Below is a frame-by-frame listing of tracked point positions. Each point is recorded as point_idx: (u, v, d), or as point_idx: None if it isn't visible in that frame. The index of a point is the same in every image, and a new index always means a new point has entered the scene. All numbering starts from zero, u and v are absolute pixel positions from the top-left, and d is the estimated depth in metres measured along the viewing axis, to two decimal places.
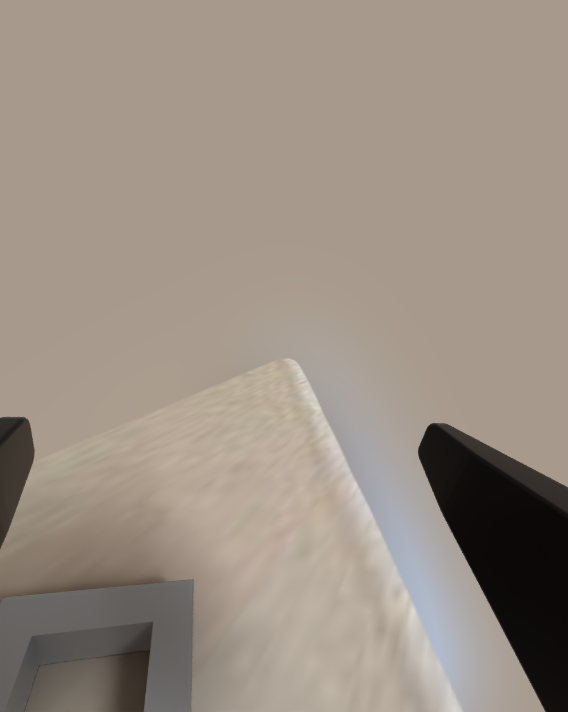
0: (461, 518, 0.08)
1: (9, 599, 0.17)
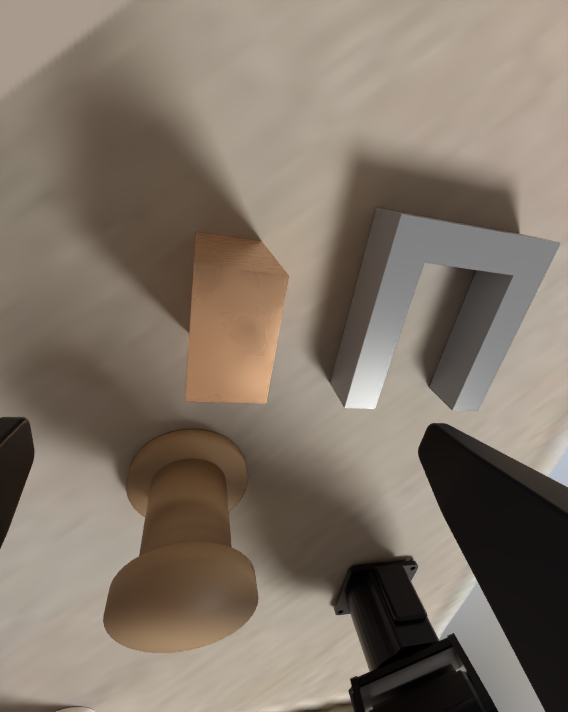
0: (461, 518, 0.08)
1: (407, 218, 0.15)
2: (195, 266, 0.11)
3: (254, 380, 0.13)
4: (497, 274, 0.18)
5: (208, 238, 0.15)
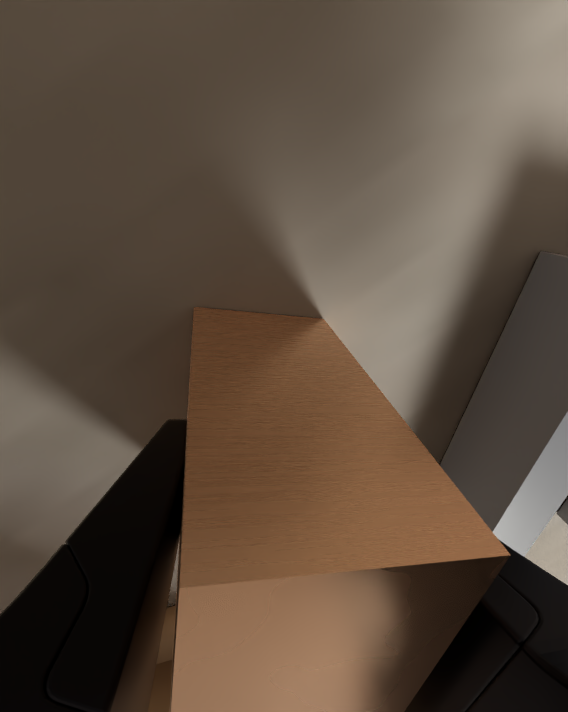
0: None
1: None
2: (187, 593, 0.03)
3: None
4: None
5: (220, 331, 0.07)
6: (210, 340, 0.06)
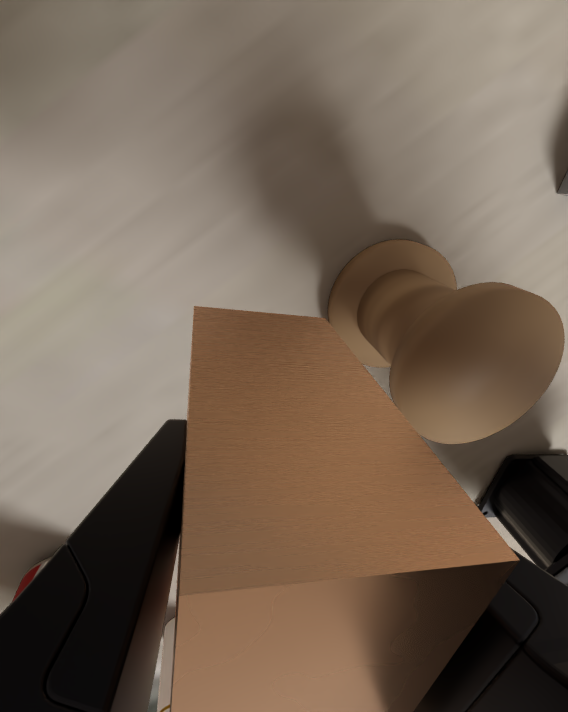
0: None
1: None
2: (187, 601, 0.03)
3: None
4: None
5: (221, 330, 0.07)
6: (210, 339, 0.06)
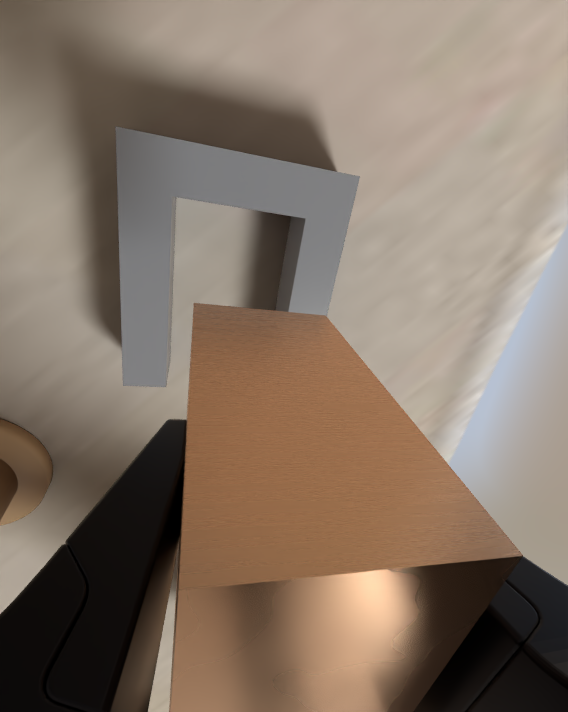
0: None
1: (125, 133, 0.12)
2: (186, 595, 0.03)
3: None
4: (298, 220, 0.15)
5: (221, 327, 0.07)
6: (210, 336, 0.06)
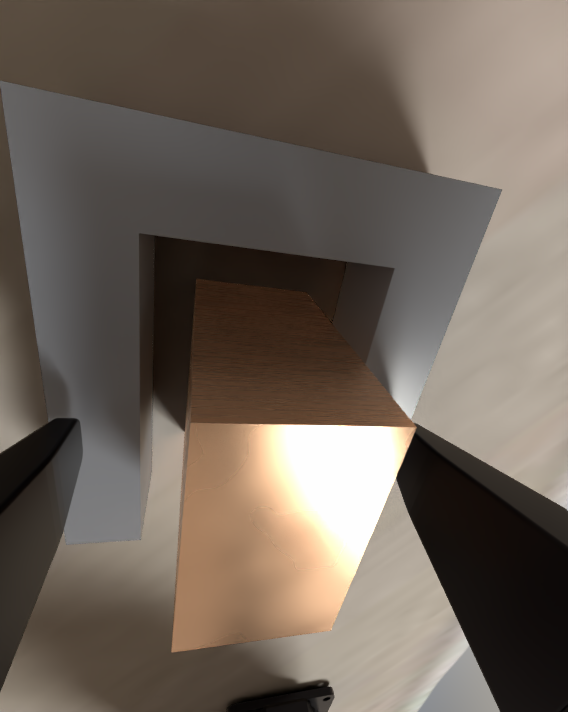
0: (427, 520, 0.08)
1: (25, 97, 0.05)
2: (195, 427, 0.04)
3: (313, 604, 0.06)
4: (372, 266, 0.08)
5: (218, 295, 0.08)
6: (210, 301, 0.08)
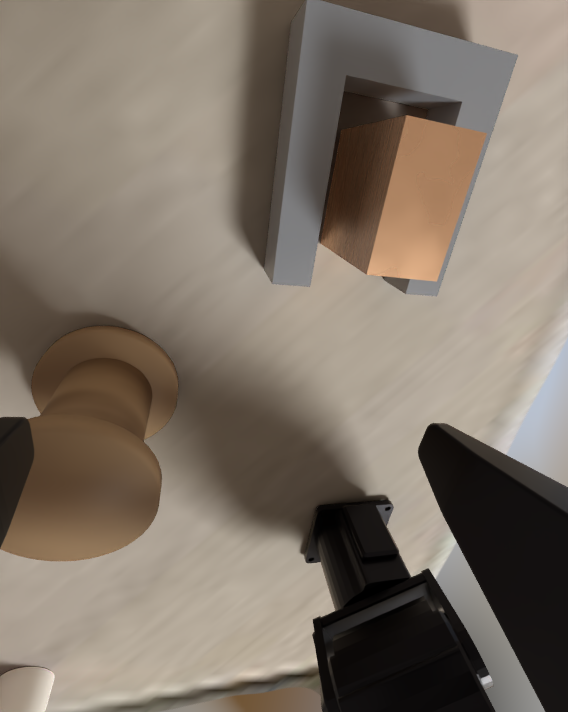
0: (461, 518, 0.08)
1: (315, 4, 0.12)
2: (407, 117, 0.11)
3: (432, 254, 0.13)
4: (446, 110, 0.15)
5: None
6: None
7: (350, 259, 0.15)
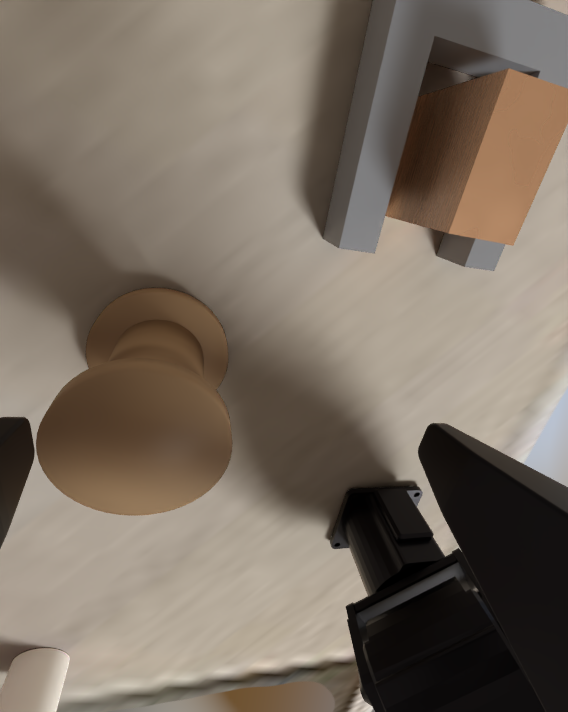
0: (461, 518, 0.08)
1: None
2: (509, 71, 0.11)
3: (512, 216, 0.14)
4: None
5: None
6: None
7: (424, 222, 0.15)
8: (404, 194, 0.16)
